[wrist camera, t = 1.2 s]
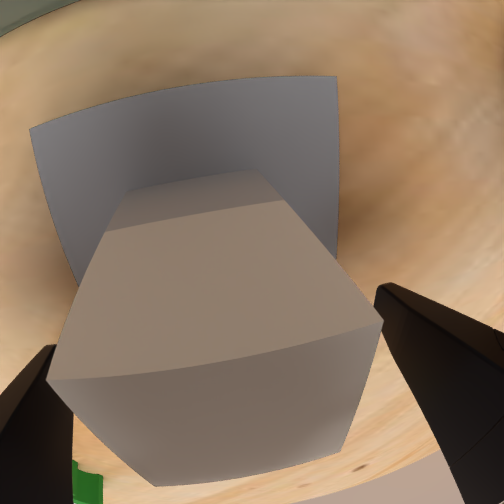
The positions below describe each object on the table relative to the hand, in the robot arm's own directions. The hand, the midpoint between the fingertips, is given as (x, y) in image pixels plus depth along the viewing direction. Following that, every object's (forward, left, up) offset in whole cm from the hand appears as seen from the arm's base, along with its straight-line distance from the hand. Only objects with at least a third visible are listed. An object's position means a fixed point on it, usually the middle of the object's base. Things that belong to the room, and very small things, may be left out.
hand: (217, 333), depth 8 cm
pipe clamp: (+21, +26, -7) cm, 34 cm away
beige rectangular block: (0, 0, -6) cm, 6 cm away
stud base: (0, 0, -7) cm, 7 cm away
